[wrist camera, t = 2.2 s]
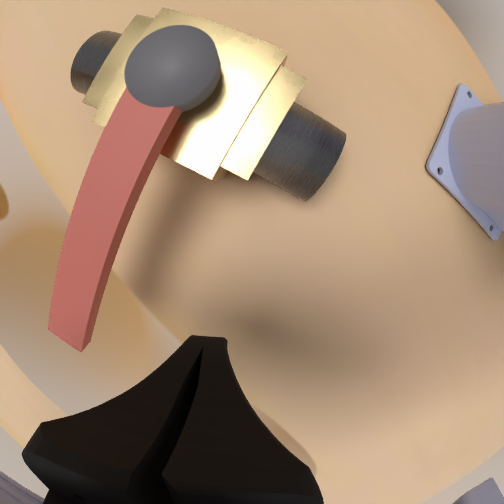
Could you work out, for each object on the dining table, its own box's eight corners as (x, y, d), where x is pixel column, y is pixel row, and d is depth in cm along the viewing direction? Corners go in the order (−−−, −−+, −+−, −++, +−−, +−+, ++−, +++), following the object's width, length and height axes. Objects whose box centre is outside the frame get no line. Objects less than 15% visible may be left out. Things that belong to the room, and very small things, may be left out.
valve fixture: (339, 123, 14) (380, 102, 9) (288, 212, 16) (306, 233, 10) (135, 32, 12) (96, -8, 7) (88, 112, 14) (32, 97, 8)
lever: (237, 54, 8) (236, 41, 7) (101, 347, 11) (91, 359, 10) (164, 28, 8) (156, 16, 7) (50, 312, 11) (38, 322, 10)
